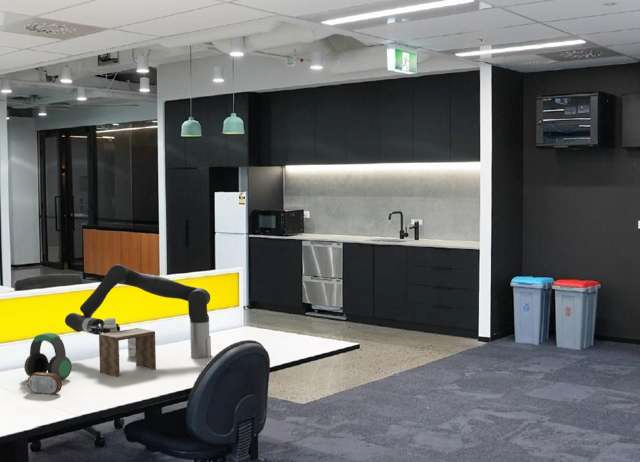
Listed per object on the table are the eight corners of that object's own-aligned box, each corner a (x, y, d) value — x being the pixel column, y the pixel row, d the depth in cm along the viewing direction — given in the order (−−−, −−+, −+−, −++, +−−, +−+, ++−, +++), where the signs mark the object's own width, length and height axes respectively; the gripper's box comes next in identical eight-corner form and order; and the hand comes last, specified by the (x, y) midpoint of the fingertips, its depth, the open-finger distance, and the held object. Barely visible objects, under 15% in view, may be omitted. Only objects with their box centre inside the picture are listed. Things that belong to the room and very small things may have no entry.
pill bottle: (100, 343, 373) (100, 319, 372) (112, 341, 377) (111, 317, 377) (108, 345, 369) (108, 320, 368) (119, 342, 373) (119, 318, 373)
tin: (62, 393, 323) (62, 373, 323) (57, 395, 320) (57, 374, 320) (31, 391, 328) (31, 371, 328) (26, 393, 325) (26, 372, 325)
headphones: (74, 378, 351) (72, 332, 350) (56, 383, 341) (54, 337, 340) (41, 374, 359) (39, 330, 358) (22, 380, 349) (21, 334, 348)
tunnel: (100, 372, 361) (98, 334, 360) (138, 365, 376) (137, 328, 375) (117, 377, 352) (116, 337, 351) (155, 369, 367) (154, 331, 366)
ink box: (147, 356, 397) (146, 332, 397) (139, 358, 393) (139, 334, 392) (135, 354, 402) (134, 331, 401) (127, 356, 398) (127, 332, 397)
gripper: (79, 320, 377) (99, 323, 366) (106, 316, 387) (126, 319, 376) (80, 335, 377) (99, 340, 366) (107, 331, 388) (126, 335, 376)
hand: (112, 329), depth 371 cm, fingers closed on pill bottle, 6 cm apart
